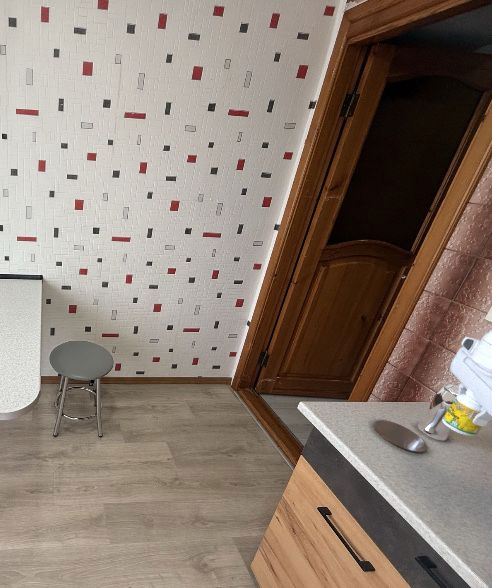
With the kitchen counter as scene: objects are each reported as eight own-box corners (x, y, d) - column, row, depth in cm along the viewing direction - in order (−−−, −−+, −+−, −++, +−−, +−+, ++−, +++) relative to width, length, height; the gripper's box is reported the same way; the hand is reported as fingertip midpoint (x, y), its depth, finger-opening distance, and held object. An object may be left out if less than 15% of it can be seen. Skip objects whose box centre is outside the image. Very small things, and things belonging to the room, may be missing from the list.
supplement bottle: (481, 440, 70) (509, 405, 66) (448, 431, 72) (473, 396, 68) (466, 423, 74) (491, 389, 71) (436, 415, 76) (458, 382, 72)
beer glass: (426, 438, 92) (455, 396, 86) (409, 420, 99) (435, 380, 92) (455, 445, 91) (487, 402, 85) (436, 426, 97) (465, 386, 91)
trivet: (417, 432, 94) (418, 430, 94) (432, 460, 85) (433, 458, 85) (369, 416, 99) (370, 414, 99) (379, 441, 90) (380, 439, 90)
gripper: (569, 396, 56) (519, 454, 62) (498, 342, 73) (464, 392, 78) (516, 382, 59) (473, 439, 64) (460, 334, 75) (430, 382, 81)
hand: (468, 413), depth 71 cm, fingers closed on supplement bottle, 5 cm apart
